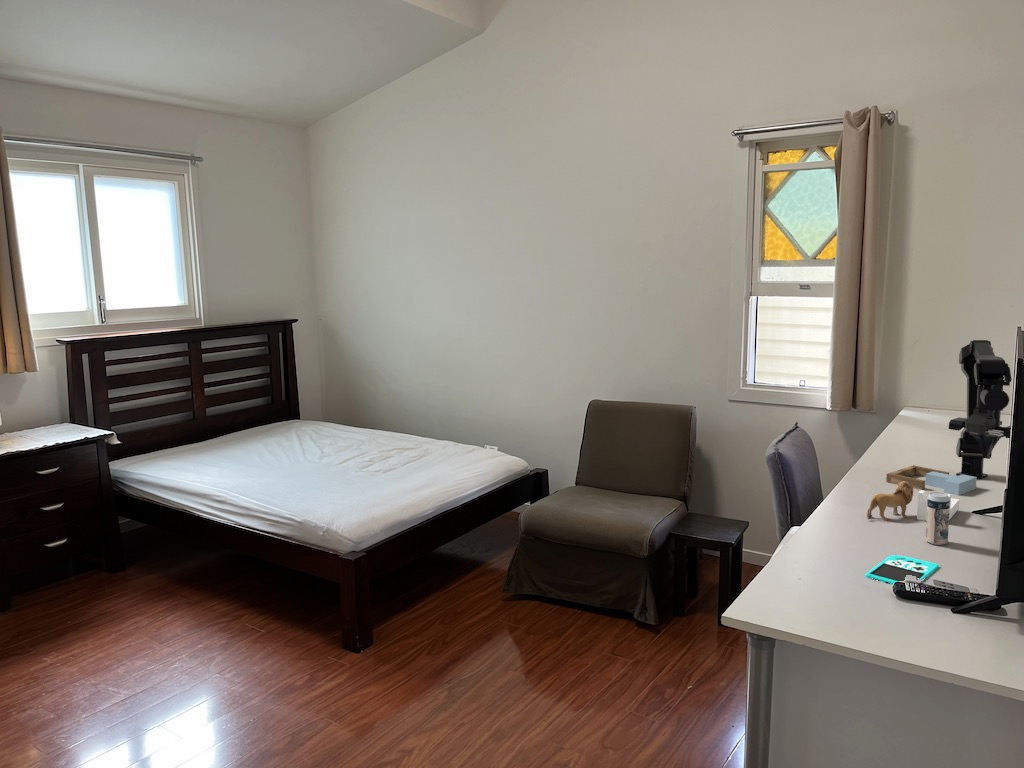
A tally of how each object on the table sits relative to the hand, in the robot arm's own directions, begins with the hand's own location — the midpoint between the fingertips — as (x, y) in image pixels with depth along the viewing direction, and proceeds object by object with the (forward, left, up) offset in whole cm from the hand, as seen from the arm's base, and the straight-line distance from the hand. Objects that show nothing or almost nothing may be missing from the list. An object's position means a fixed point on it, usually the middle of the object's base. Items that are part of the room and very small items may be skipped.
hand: (985, 457), depth 212 cm
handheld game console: (+68, +15, -12) cm, 70 cm away
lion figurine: (+36, -7, -11) cm, 38 cm away
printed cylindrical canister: (+45, +11, -11) cm, 48 cm away
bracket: (+25, +1, -12) cm, 28 cm away
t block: (0, -10, -11) cm, 15 cm away
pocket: (0, -18, -11) cm, 22 cm away
